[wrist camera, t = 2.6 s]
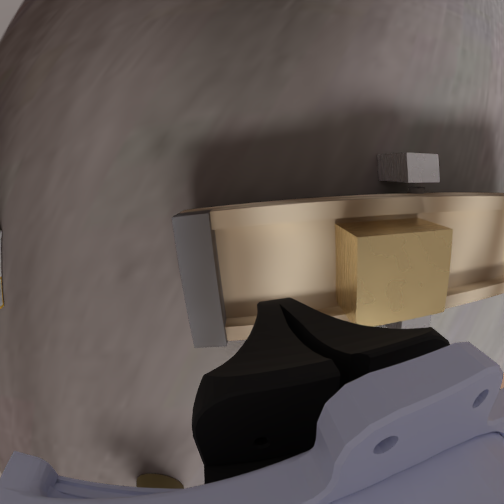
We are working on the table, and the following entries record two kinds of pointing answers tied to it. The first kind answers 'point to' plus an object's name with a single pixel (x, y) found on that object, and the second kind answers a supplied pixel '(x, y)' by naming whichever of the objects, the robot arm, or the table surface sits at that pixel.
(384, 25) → the table surface
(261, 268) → the beam
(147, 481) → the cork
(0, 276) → the crayon box
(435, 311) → the block
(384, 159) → the grey rectangular bar
